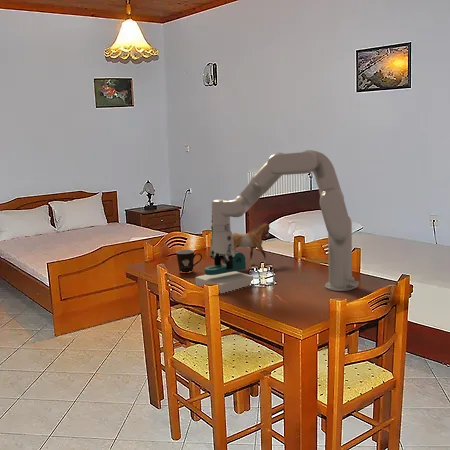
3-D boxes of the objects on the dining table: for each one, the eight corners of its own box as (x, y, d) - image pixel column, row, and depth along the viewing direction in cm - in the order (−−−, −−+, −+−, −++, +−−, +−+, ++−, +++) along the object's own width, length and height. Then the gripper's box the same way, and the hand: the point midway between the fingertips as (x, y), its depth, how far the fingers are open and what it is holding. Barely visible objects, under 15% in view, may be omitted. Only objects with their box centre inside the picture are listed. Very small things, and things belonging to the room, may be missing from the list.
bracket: (238, 266, 251) (237, 249, 249) (245, 269, 245) (244, 251, 244) (202, 272, 243) (201, 255, 241) (209, 276, 237) (208, 258, 235)
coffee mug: (174, 273, 269) (173, 253, 267) (182, 269, 277) (180, 249, 275) (196, 274, 265) (195, 254, 263) (203, 270, 273) (202, 250, 271)
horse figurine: (270, 261, 283) (269, 221, 280) (275, 264, 276) (274, 223, 272) (211, 268, 275) (208, 227, 272) (215, 272, 268) (212, 230, 264)
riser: (253, 284, 243) (253, 276, 243) (221, 294, 232) (220, 284, 232) (227, 277, 257) (227, 269, 257) (195, 285, 246) (195, 277, 246)
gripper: (241, 228, 236) (243, 269, 239) (216, 224, 249) (218, 262, 252) (227, 231, 231) (229, 272, 234) (202, 227, 245) (204, 266, 248)
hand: (223, 267), depth 243 cm, fingers closed on bracket, 7 cm apart
